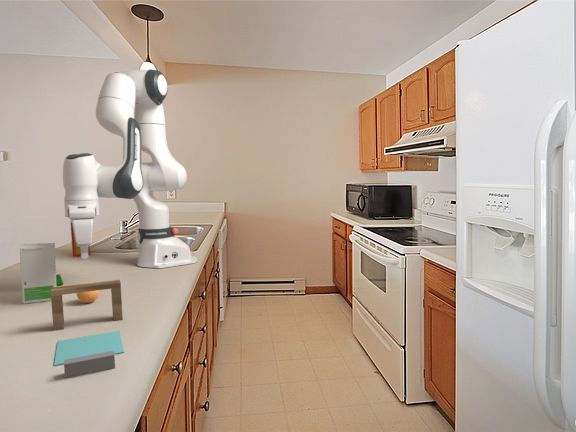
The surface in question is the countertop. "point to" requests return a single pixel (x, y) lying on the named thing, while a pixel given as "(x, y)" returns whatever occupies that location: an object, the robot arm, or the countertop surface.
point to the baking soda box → (76, 249)
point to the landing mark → (88, 346)
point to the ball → (88, 296)
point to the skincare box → (37, 271)
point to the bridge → (59, 291)
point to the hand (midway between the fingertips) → (84, 257)
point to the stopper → (89, 364)
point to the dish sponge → (59, 281)
